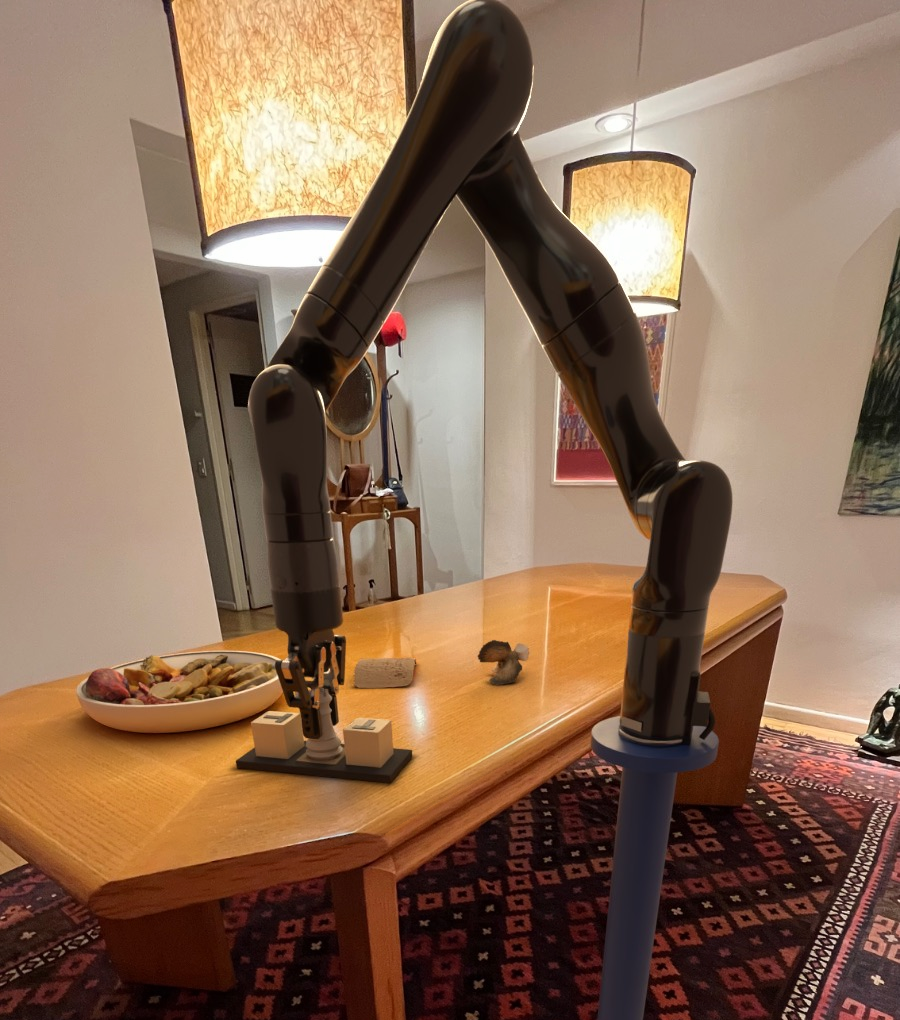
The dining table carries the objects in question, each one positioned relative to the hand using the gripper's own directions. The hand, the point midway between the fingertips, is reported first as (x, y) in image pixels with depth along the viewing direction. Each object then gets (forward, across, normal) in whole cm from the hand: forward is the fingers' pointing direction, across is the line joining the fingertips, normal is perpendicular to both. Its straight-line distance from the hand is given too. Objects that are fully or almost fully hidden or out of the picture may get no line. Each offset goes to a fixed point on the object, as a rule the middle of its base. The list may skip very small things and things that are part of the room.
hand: (321, 730), depth 81 cm
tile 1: (+3, 0, +6) cm, 7 cm away
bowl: (+4, +16, +30) cm, 34 cm away
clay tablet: (+4, +38, +6) cm, 39 cm away
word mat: (+4, 0, 0) cm, 4 cm away
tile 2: (+3, 0, -6) cm, 7 cm away
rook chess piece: (+3, 0, 0) cm, 3 cm away
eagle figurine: (+4, +41, -14) cm, 44 cm away
